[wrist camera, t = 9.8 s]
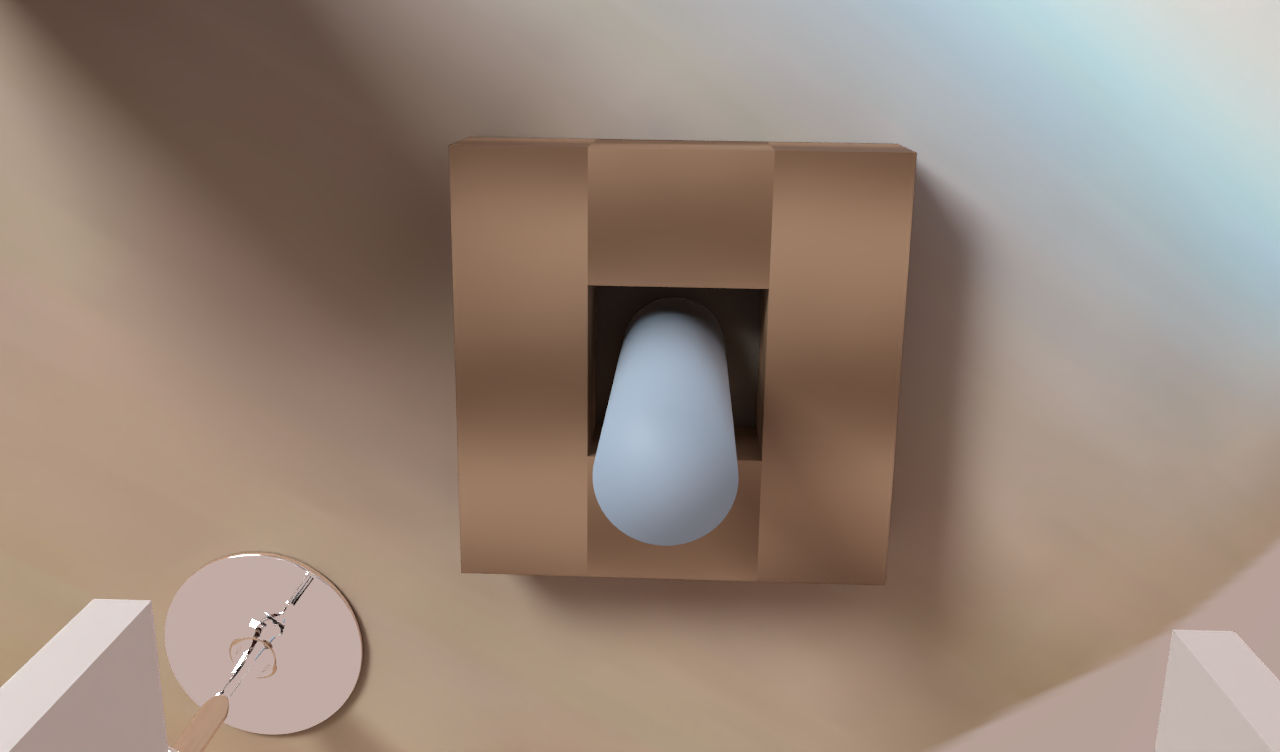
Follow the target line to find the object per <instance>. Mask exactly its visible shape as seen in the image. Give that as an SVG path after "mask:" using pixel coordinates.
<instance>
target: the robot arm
mask: <svg viewBox="0 0 1280 752" xmlns="http://www.w3.org/2000/svg"><path fill="white" fill-rule="evenodd" d="M0 752H168V744H167V735H166V726H165V717H164V708H163V699H162V690H161V682H160V673H159V664H158V655H157V646H156V637H155V628H154V619H153V610H152V601H151V600H116V599H93V600H92V601H91V602H90V603H89V604H88V605H87V606H86V607H85V608H83V609H82V610H81V611H80V612H79V613H78V614H77V615H76V616H75V617H74V618H73V619H72V620H71V621H70V622H69V623H68V624H67V625H66V626H65V627H64V628H63V629H61V630H60V631H59V632H58V633H57V634H56V635H55V636H54V637H53V638H52V639H51V640H50V641H49V642H48V643H47V644H46V645H45V646H44V647H43V648H42V649H41V650H39V651H38V652H37V653H36V654H35V655H34V656H33V657H32V658H31V659H30V660H29V661H28V662H27V663H26V664H25V665H24V666H23V667H22V668H21V669H20V670H18V671H17V672H16V673H15V674H14V675H13V676H12V677H11V678H10V679H9V680H8V681H7V682H6V683H5V684H4V685H3V686H2V687H1V688H0ZM1154 752H1280V681H1279V680H1278V678H1277V677H1276V676H1275V675H1274V674H1273V673H1272V672H1271V671H1270V670H1269V669H1268V668H1267V667H1266V665H1265V664H1264V663H1263V662H1262V661H1261V660H1260V659H1259V658H1258V657H1257V656H1256V654H1255V653H1254V652H1253V651H1252V650H1251V649H1250V648H1249V647H1248V646H1247V645H1246V644H1245V643H1244V641H1243V640H1242V639H1241V638H1240V637H1239V636H1238V635H1237V634H1236V633H1235V632H1234V631H1207V630H1173V631H1172V639H1171V645H1170V652H1169V658H1168V665H1167V671H1166V678H1165V684H1164V691H1163V698H1162V704H1161V711H1160V718H1159V724H1158V731H1157V738H1156V744H1155V751H1154Z"/></svg>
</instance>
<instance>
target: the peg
mask: <svg viewBox="0 0 1280 752" xmlns="http://www.w3.org/2000/svg"><path fill="white" fill-rule="evenodd" d="M592 476H593V487H594V492H595V496H596V498H597V501H598V503H599V505H600V507H601V509H602V511H603V512H604V514H605V515H606V517H607V518H608V519H609V520H610V521H611V523H612V524H613V525H614V526H616V527H617V528H618V529H619V530H620V531H622V532H623V533H625V534H626V535H628V536H630V537H632V538H634V539H636V540H638V541H641V542H644V543H648V544H653V545H661V546H673V545H680V544H685V543H688V542H692V541H694V540H696V539H699V538H701V537H703V536H704V535H706V534H708V533H709V532H711V531H712V530H713V529H714V528H716V527H717V526H718V525H719V524H720V523H721V522H722V521H723V519H724V518H725V517H726V515H727V514H728V512H729V511H730V509H731V507H732V505H733V503H734V500H735V497H736V494H737V490H738V481H739V478H738V464H737V454H736V444H735V435H734V425H733V416H732V406H731V397H730V387H729V377H728V368H727V358H726V349H725V340H724V335H723V332H722V329H721V327H720V325H719V323H718V321H717V320H716V318H715V317H714V316H713V315H712V313H711V312H710V311H708V310H707V309H706V308H705V307H703V306H702V305H700V304H698V303H696V302H694V301H692V300H689V299H684V298H677V297H671V298H663V299H659V300H656V301H654V302H651V303H649V304H648V305H646V306H644V307H643V308H642V309H641V310H639V311H638V312H637V313H636V314H635V315H634V317H633V318H632V320H631V321H630V323H629V325H628V327H627V329H626V332H625V335H624V339H623V344H622V348H621V352H620V356H619V360H618V364H617V369H616V373H615V377H614V381H613V385H612V390H611V394H610V398H609V402H608V406H607V410H606V415H605V419H604V423H603V427H602V431H601V436H600V440H599V444H598V448H597V452H596V456H595V461H594V465H593V475H592Z"/></svg>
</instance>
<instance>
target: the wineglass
mask: <svg viewBox="0 0 1280 752" xmlns="http://www.w3.org/2000/svg"><path fill="white" fill-rule="evenodd" d="M164 640H165V649H166V654H167V658H168V661H169V664H170V667H171V669H172V671H173V673H174V675H175V677H176V679H177V681H178V682H179V684H180V686H181V687H182V688H183V690H184V691H185V692H186V694H187V695H188V696H189V697H190V698H191V699H192V700H193V701H194V702H195V703H196V704H197V705H198V706H199V707H200V709H199V711H198V712H197V713H196V715H195V716H194V717H193V719H192V720H191V721H190V723H189V724H188V725H187V727H186V728H185V729H184V731H183V732H182V733H181V735H180V736H179V737H178V738H177V740H176V741H175V742H174V744H173V745H172V746H169V745H168V752H204V750H205V749H206V747H207V746H208V745H209V743H210V742H211V740H212V739H213V737H214V736H215V734H216V733H217V731H218V730H219V728H220V727H221V726H222V724H223V723H225V724H227V725H229V726H232V727H235V728H237V729H240V730H244V731H248V732H252V733H258V734H269V735H277V734H288V733H294V732H299V731H302V730H305V729H308V728H311V727H313V726H315V725H317V724H319V723H321V722H323V721H324V720H326V719H327V718H329V717H330V716H332V715H333V714H334V713H335V712H336V711H337V710H338V709H339V708H340V707H341V706H342V705H343V704H344V703H345V702H346V700H347V699H348V698H349V696H350V695H351V693H352V691H353V689H354V687H355V685H356V683H357V681H358V678H359V675H360V671H361V667H362V660H363V642H362V636H361V631H360V627H359V624H358V621H357V619H356V616H355V614H354V612H353V610H352V608H351V606H350V605H349V603H348V602H347V600H346V599H345V597H344V596H343V595H342V593H341V592H340V591H339V590H338V589H337V588H336V587H335V586H334V585H333V584H332V583H331V582H330V581H329V580H328V579H327V578H326V577H324V576H323V575H322V574H320V573H319V572H318V571H316V570H314V569H313V568H311V567H309V566H308V565H306V564H304V563H302V562H299V561H297V560H294V559H292V558H289V557H286V556H282V555H278V554H272V553H265V552H245V553H237V554H232V555H228V556H225V557H222V558H219V559H216V560H214V561H212V562H210V563H208V564H206V565H205V566H203V567H201V568H200V569H199V570H197V571H196V572H195V573H193V574H192V575H191V576H190V577H189V578H188V579H187V580H186V581H185V582H184V583H183V585H182V586H181V587H180V588H179V590H178V591H177V593H176V594H175V596H174V598H173V600H172V602H171V604H170V607H169V610H168V613H167V617H166V621H165V630H164Z"/></svg>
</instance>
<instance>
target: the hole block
mask: <svg viewBox="0 0 1280 752" xmlns="http://www.w3.org/2000/svg"><path fill="white" fill-rule="evenodd" d="M916 157H917V153H916V152H914V151H912V150H909V149H907V148H905V147H903V146H901V145H899V144H874V143H811V142H748V141H685V140H622V139H559V138H496V137H469V138H466V139H463V140H461V141H458V142H456V143H453V144H451V145H449V171H450V205H451V238H452V272H453V306H454V340H455V374H456V408H457V442H458V476H459V510H460V544H461V573H484V574H518V575H552V576H586V577H620V578H654V579H688V580H722V581H756V582H790V583H824V584H858V585H885V580H886V567H887V553H888V539H889V526H890V512H891V498H892V485H893V471H894V457H895V444H896V430H897V416H898V403H899V389H900V375H901V362H902V348H903V334H904V321H905V307H906V293H907V280H908V266H909V252H910V239H911V225H912V211H913V198H914V184H915V170H916ZM596 285H597V286H646V287H695V288H744V289H762V295H761V320H760V345H759V370H758V394H757V419H756V428H752V427H734V435H735V444H736V454H737V464H738V478H739V481H738V490H737V494H736V497H735V500H734V503H733V505H732V507H731V509H730V511H729V512H728V514H727V515H726V517H725V518H724V519H723V521H722V522H721V523H720V524H719V525H718V526H717V527H716V528H714V529H713V530H712V531H711V532H709V533H708V534H706V535H704V536H703V537H701V538H699V539H696V540H694V541H692V542H688V543H685V544H680V545H673V546H661V545H653V544H648V543H644V542H641V541H638V540H636V539H634V538H632V537H630V536H628V535H626V534H625V533H623V532H622V531H620V530H619V529H618V528H617V527H616V526H614V525H613V524H612V523H611V521H610V520H609V519H608V518H607V517H606V515H605V514H604V512H603V511H602V509H601V507H600V505H599V503H598V501H597V498H596V496H595V492H594V487H593V476H592V475H593V465H594V461H595V456H596V452H597V448H598V444H599V440H600V436H601V431H602V427H603V424H596Z"/></svg>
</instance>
